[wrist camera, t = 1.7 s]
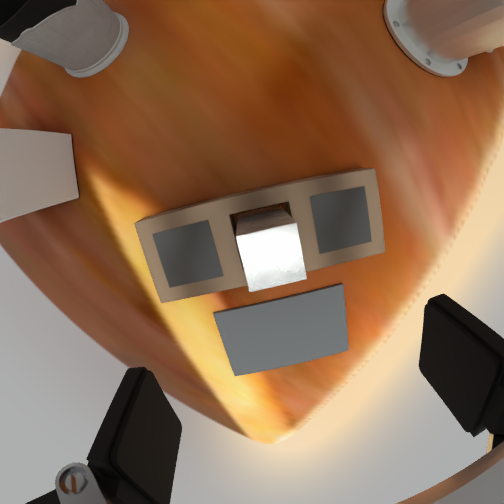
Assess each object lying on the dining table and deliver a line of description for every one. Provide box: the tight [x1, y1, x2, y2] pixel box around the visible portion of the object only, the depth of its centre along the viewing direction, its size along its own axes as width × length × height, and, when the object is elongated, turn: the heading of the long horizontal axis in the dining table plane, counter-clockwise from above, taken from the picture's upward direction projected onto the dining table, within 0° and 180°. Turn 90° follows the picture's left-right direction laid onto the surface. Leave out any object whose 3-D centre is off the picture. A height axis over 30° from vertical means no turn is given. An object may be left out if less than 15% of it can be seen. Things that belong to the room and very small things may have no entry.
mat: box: [213, 283, 348, 376], centre depth 31 cm, size 14×9×1 cm, turn 103°
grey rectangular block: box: [236, 205, 307, 292], centre depth 23 cm, size 4×4×9 cm
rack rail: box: [135, 168, 385, 303], centre depth 26 cm, size 22×8×3 cm, turn 103°
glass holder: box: [0, 0, 129, 77], centre depth 13 cm, size 9×14×15 cm, turn 12°
